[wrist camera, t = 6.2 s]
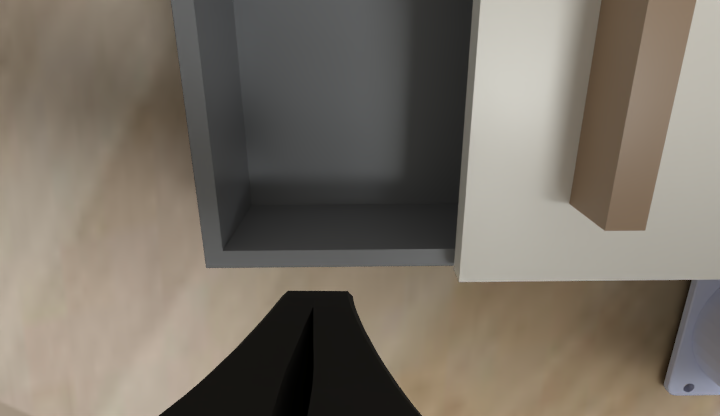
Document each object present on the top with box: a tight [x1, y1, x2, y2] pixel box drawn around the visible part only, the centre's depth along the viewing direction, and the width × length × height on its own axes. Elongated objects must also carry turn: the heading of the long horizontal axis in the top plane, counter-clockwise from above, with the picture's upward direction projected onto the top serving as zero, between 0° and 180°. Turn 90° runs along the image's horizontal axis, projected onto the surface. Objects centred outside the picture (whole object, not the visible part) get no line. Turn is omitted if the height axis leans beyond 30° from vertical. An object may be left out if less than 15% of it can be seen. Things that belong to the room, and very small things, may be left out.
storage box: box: [171, 0, 473, 268], centre depth 15 cm, size 12×13×5 cm
